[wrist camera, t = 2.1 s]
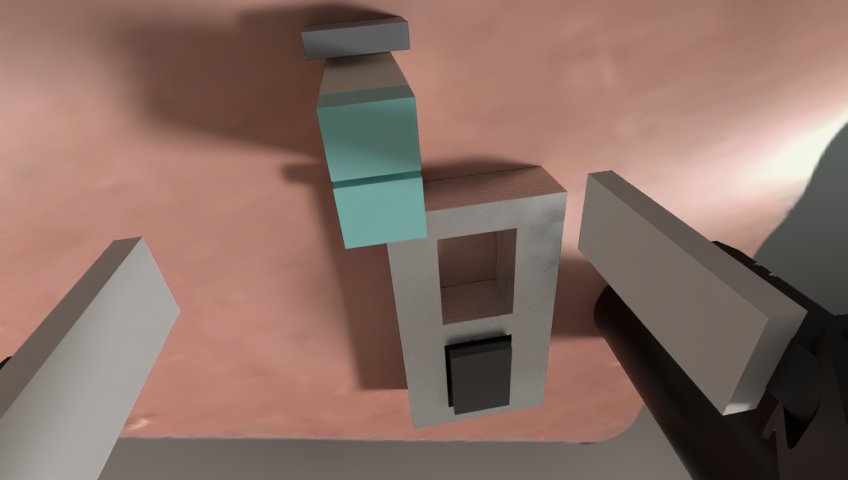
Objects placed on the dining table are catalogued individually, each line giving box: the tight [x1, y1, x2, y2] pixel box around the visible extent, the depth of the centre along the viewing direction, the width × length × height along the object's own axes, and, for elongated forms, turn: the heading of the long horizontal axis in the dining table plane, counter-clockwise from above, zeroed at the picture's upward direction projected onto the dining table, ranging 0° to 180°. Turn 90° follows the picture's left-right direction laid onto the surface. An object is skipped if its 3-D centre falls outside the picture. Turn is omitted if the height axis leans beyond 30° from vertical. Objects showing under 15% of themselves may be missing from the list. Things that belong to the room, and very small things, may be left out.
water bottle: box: [594, 285, 779, 480], centre depth 27 cm, size 10×10×23 cm
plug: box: [316, 52, 427, 249], centre depth 21 cm, size 6×4×10 cm, turn 5°
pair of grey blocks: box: [301, 17, 410, 60], centre depth 24 cm, size 9×5×3 cm, turn 5°
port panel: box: [386, 166, 567, 429], centre depth 31 cm, size 20×11×5 cm, turn 4°
